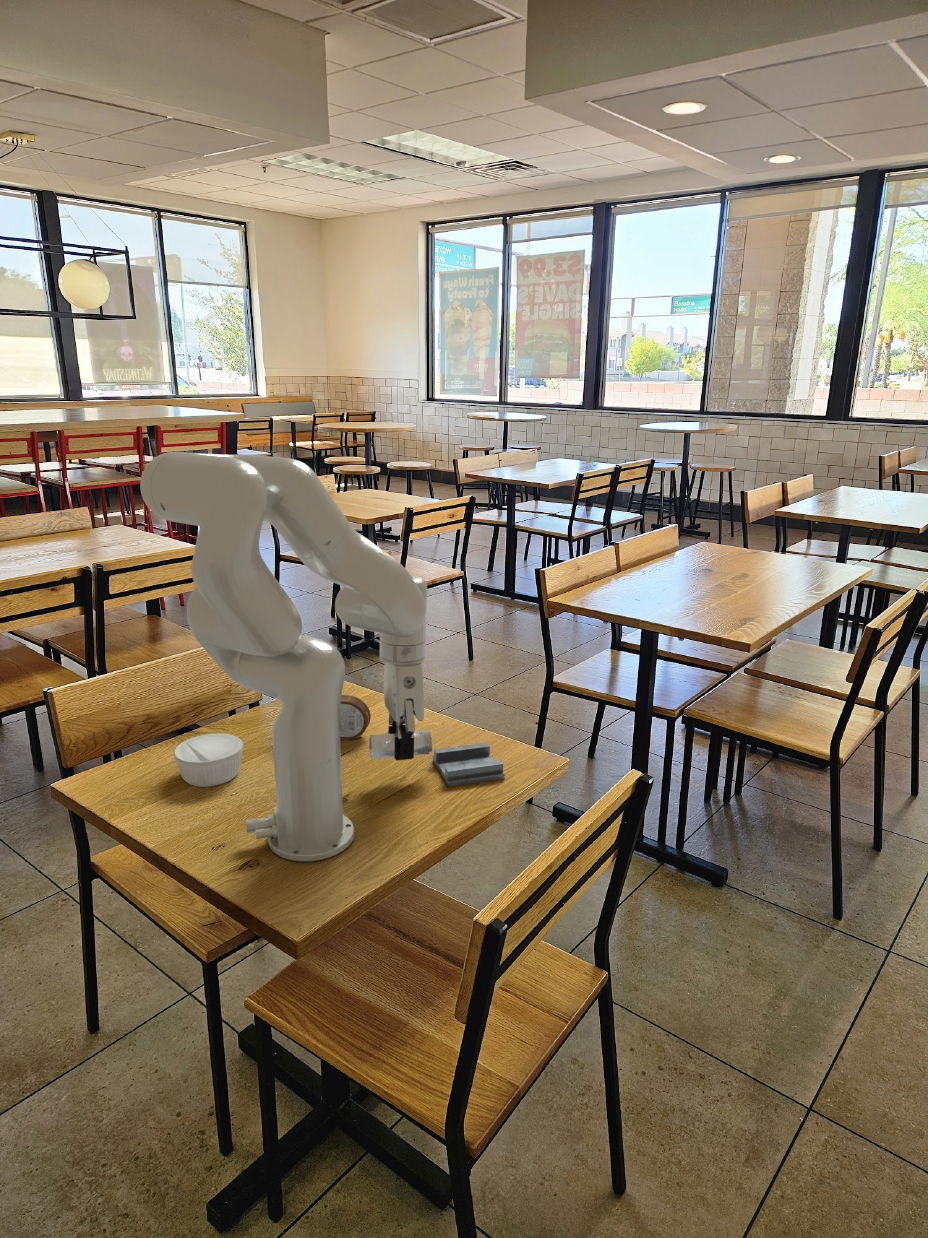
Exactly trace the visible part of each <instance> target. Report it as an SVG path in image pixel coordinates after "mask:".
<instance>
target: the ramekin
mask: <svg viewBox="0 0 928 1238" xmlns="http://www.w3.org/2000/svg"><path fill="white" fill-rule="evenodd" d="M243 751H244V742H243V740H241V738H240V737H238V736H236V735H233V734H230V733H220V732H219V733H217V732H216V733H208V734H202V735H201V734H200V735H197V736H193V737H191V738H188V739H186V740H184V741H182V742H181V743H179V745H177V747H176V748H175V749H174V751H173V756H174V760H175V761H176V763H177V767H178V769H179V771H180V775H181V777H182V780H183V781H185V782H186V783H188V785H191V786H194V787H200V788H201V787H202V788H206V787H208V788H209V787H215V786H218V785H219V786H220V785H222V784H225V783H227V782H229V781H232V780H233V779H234V778H235V777H236V776H237V775H238V774H239V772H240V770H241V765H242V756H243V755H242V753H243Z"/></svg>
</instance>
